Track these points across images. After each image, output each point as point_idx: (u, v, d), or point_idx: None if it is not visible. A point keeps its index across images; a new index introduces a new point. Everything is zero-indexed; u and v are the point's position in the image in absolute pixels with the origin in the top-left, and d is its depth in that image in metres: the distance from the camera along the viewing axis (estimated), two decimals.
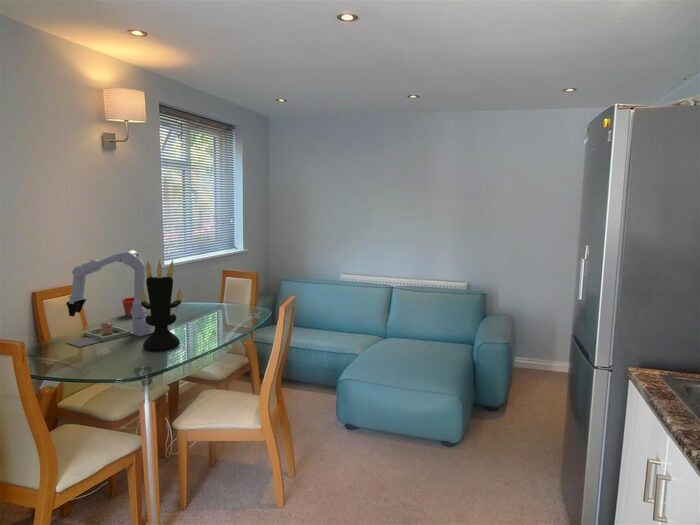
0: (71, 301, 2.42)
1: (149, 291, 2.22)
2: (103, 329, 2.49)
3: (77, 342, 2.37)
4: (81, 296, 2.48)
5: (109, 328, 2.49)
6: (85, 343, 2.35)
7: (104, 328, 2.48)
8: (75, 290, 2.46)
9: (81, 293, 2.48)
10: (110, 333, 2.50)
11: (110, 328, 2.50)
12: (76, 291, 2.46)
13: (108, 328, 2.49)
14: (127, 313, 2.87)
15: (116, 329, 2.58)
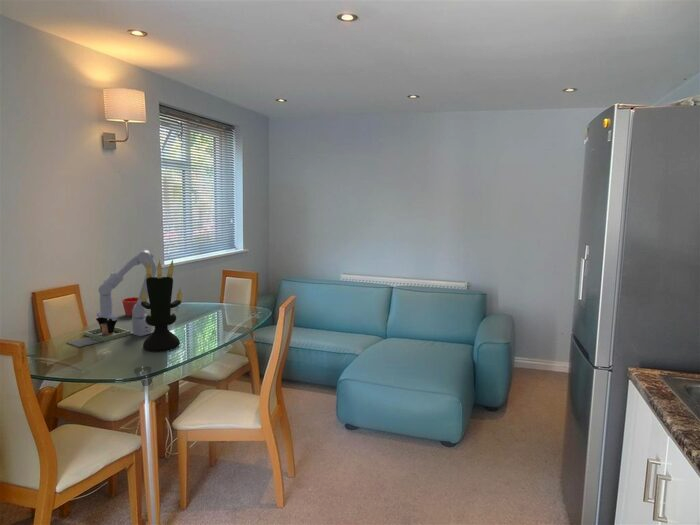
0: (115, 318, 2.46)
1: (149, 291, 2.22)
2: (103, 329, 2.49)
3: (77, 342, 2.37)
4: None
5: None
6: (85, 343, 2.35)
7: (104, 328, 2.48)
8: (109, 308, 2.48)
9: (112, 309, 2.51)
10: (110, 333, 2.50)
11: None
12: (109, 308, 2.48)
13: None
14: (127, 313, 2.87)
15: (116, 329, 2.58)
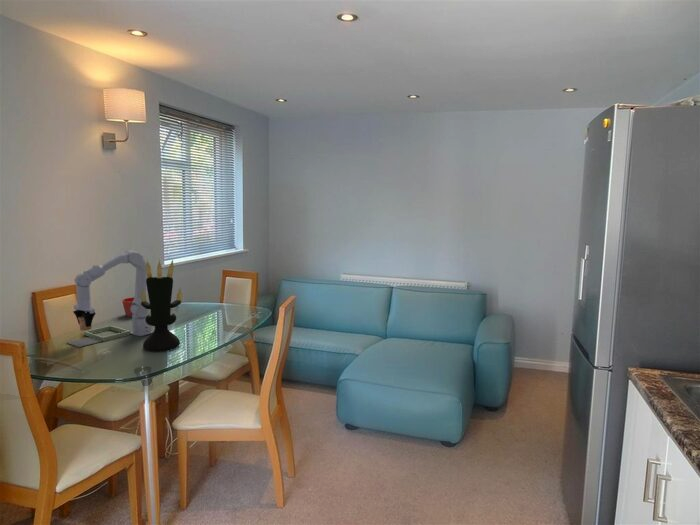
0: (93, 310, 2.33)
1: (149, 291, 2.22)
2: (81, 323, 2.36)
3: (77, 342, 2.37)
4: (90, 304, 2.38)
5: None
6: (85, 343, 2.35)
7: (82, 322, 2.35)
8: (86, 300, 2.34)
9: (90, 301, 2.37)
10: (89, 327, 2.37)
11: None
12: (87, 300, 2.35)
13: None
14: (127, 313, 2.87)
15: (116, 329, 2.58)
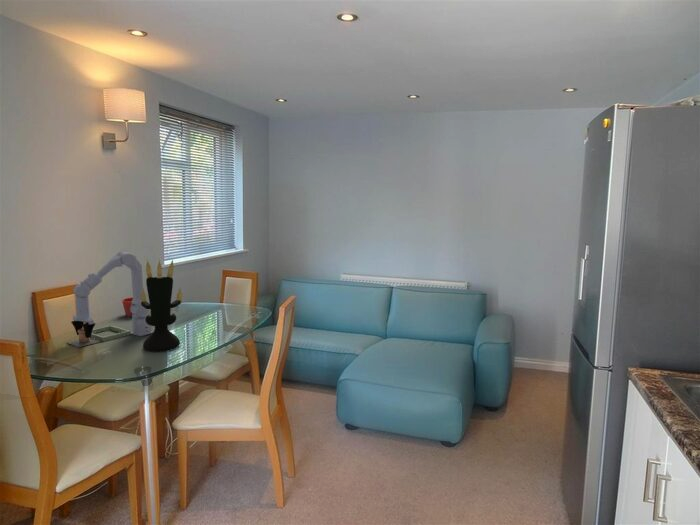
0: (91, 321, 2.33)
1: (149, 291, 2.22)
2: (80, 335, 2.36)
3: (77, 342, 2.37)
4: None
5: None
6: (85, 343, 2.35)
7: (81, 334, 2.35)
8: (85, 310, 2.34)
9: None
10: (88, 339, 2.37)
11: None
12: (86, 311, 2.34)
13: None
14: (127, 313, 2.87)
15: (116, 329, 2.58)
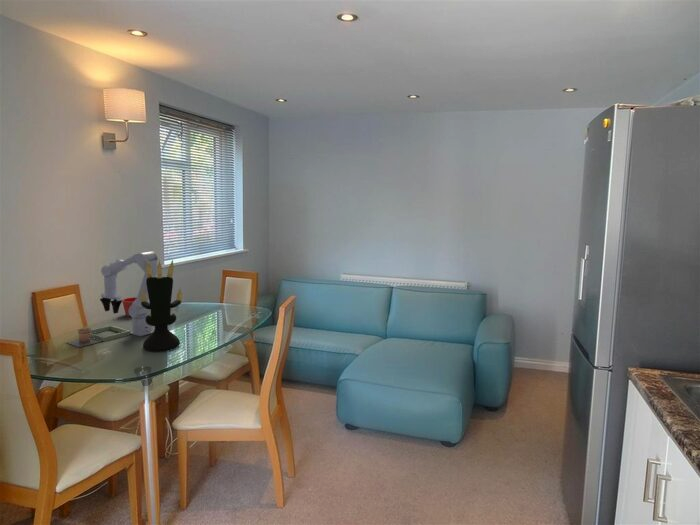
0: (119, 298, 2.56)
1: (149, 291, 2.22)
2: (80, 335, 2.36)
3: (77, 342, 2.37)
4: (116, 293, 2.61)
5: (86, 334, 2.36)
6: (85, 343, 2.35)
7: (81, 334, 2.35)
8: (113, 288, 2.57)
9: (116, 290, 2.60)
10: (88, 339, 2.37)
11: (88, 334, 2.37)
12: (113, 289, 2.57)
13: (85, 334, 2.36)
14: (127, 313, 2.87)
15: (116, 329, 2.58)
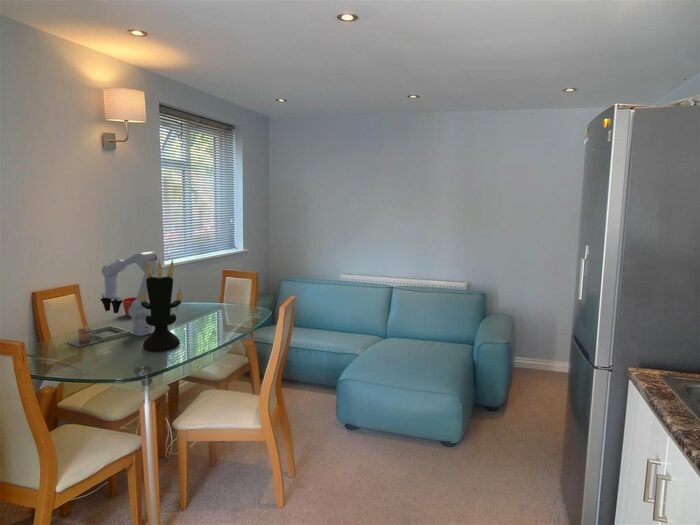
0: (119, 298, 2.56)
1: (149, 291, 2.22)
2: (80, 335, 2.36)
3: (77, 342, 2.37)
4: (116, 293, 2.61)
5: (86, 334, 2.36)
6: (85, 343, 2.35)
7: (81, 334, 2.35)
8: (113, 288, 2.57)
9: (116, 290, 2.60)
10: (88, 339, 2.37)
11: (88, 334, 2.37)
12: (114, 289, 2.58)
13: (85, 334, 2.36)
14: (127, 313, 2.87)
15: (116, 329, 2.58)
